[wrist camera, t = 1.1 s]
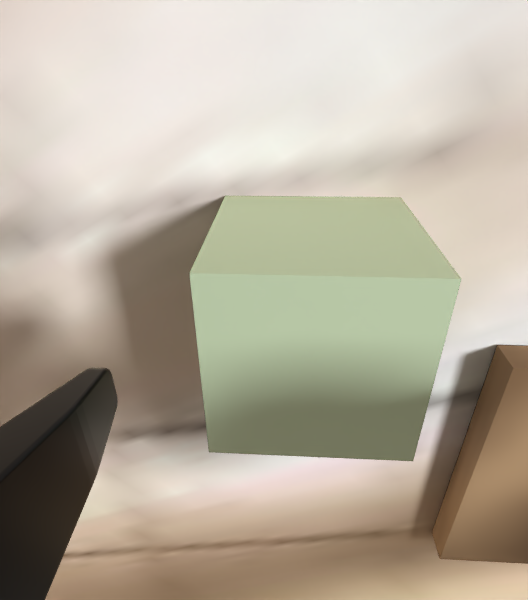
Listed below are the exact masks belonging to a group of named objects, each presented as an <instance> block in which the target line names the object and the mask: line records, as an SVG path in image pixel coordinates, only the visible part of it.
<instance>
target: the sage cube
mask: <svg viewBox="0 0 528 600" xmlns="http://www.w3.org/2000/svg"><path fill="white" fill-rule="evenodd" d="M189 274H190V284H191V293H192V302H193V311H194V320H195V329H196V338H197V348H198V357H199V366H200V375H201V384H202V393H203V402H204V411H205V421H206V430H207V439H208V448H209V452H216V453H239V454H262V455H284V456H307V457H330V458H353V459H375V460H398V461H413V459H414V456H415V452H416V448H417V444H418V440H419V437H420V433H421V429H422V425H423V422H424V418H425V414H426V410H427V407H428V403H429V399H430V395H431V391H432V388H433V384H434V380H435V376H436V373H437V369H438V365H439V361H440V358H441V354H442V350H443V346H444V342H445V339H446V335H447V331H448V327H449V324H450V320H451V316H452V312H453V309H454V305H455V301H456V297H457V294H458V290H459V286H460V282H461V278H460V276H459V275H458V274H457V272H456V271H455V270H454V268H453V267H452V266H451V264H450V263H449V262H448V260H447V259H446V258H445V256H444V255H443V254H442V252H441V251H440V249H439V248H438V247H437V245H436V244H435V243H434V241H433V240H432V239H431V237H430V236H429V235H428V233H427V232H426V231H425V229H424V228H423V227H422V225H421V224H420V223H419V221H418V220H417V219H416V217H415V216H414V214H413V213H412V212H411V210H410V209H409V208H408V206H407V205H406V204H405V202H404V201H403V200H402V198H401V197H303V196H225V197H224V200H223V202H222V204H221V206H220V208H219V210H218V213H217V215H216V217H215V219H214V221H213V223H212V226H211V228H210V230H209V232H208V234H207V236H206V238H205V241H204V243H203V245H202V247H201V249H200V251H199V254H198V256H197V258H196V260H195V262H194V264H193V266H192V269H191V271H190V273H189Z"/></svg>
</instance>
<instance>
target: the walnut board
mask: <svg viewBox="0 0 528 600" xmlns="http://www.w3.org/2000/svg"><path fill="white" fill-rule="evenodd" d="M432 534H433V537H434V541H435V544H436V548H437V551H438V554H439V558H440V559H452V560H470V561H489V562H507V563H526V564H528V346H511V345H497V347H496V350H495V353H494V356H493V359H492V362H491V365H490V367H489V370H488V373H487V376H486V379H485V382H484V385H483V388H482V390H481V393H480V396H479V399H478V402H477V405H476V408H475V410H474V413H473V416H472V419H471V422H470V425H469V428H468V431H467V433H466V436H465V439H464V442H463V445H462V448H461V451H460V454H459V456H458V459H457V462H456V465H455V468H454V471H453V474H452V476H451V479H450V482H449V485H448V488H447V491H446V494H445V497H444V499H443V502H442V505H441V508H440V511H439V514H438V517H437V520H436V522H435V525H434V528H433V531H432Z"/></svg>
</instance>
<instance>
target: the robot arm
mask: <svg viewBox="0 0 528 600" xmlns="http://www.w3.org/2000/svg"><path fill="white" fill-rule="evenodd" d="M116 408H117V394H116V390H115V386H114V382H113V378H112V374H111V372H110V370H109V369H107V368H89V369H87V370H85V371H84V372H82V373H81V374H79V375H78V376H76V377H75V378H73V379H72V380H70V381H69V382H67V383H66V384H64V385H62V386H61V387H59V388H58V389H56V390H55V391H53V392H52V393H50V394H49V395H47V396H46V397H44V398H43V399H41V400H40V401H38V402H37V403H35V404H34V405H32V406H31V407H29V408H28V409H26V410H25V411H23V412H22V413H20V414H19V415H17V416H16V417H14V418H13V419H11V420H10V421H8V422H7V423H5V424H4V425H2V426H1V427H0V600H45V598H46V596H47V593H48V591H49V589H50V586H51V584H52V581H53V579H54V577H55V574H56V572H57V569H58V567H59V565H60V562H61V560H62V557H63V555H64V553H65V550H66V548H67V545H68V543H69V541H70V538H71V536H72V533H73V531H74V529H75V526H76V524H77V521H78V519H79V517H80V514H81V512H82V510H83V507H84V505H85V502H86V500H87V498H88V495H89V493H90V490H91V488H92V486H93V483H94V480H95V478H96V475H97V472H98V469H99V466H100V463H101V460H102V456H103V453H104V449H105V446H106V443H107V439H108V436H109V432H110V429H111V426H112V422H113V419H114V415H115V412H116Z"/></svg>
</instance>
